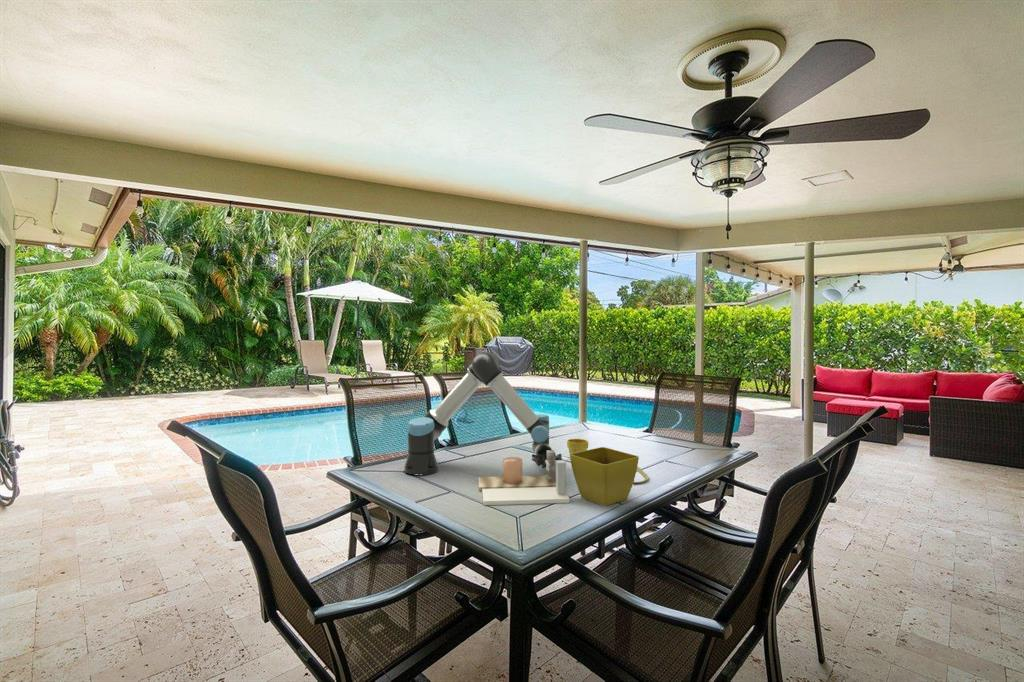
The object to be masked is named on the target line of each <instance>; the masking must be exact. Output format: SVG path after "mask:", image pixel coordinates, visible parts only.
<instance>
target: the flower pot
mask: <svg viewBox="0 0 1024 682" xmlns="http://www.w3.org/2000/svg"><path fill="white" fill-rule="evenodd" d="M569 457H570V459H569V460H570V464H571V468H572V469H571V470H572V473H573V474H572V475H573V476H574V480H575V482H576V483H575V484H576V486H577V490H578V493H579V494H580V496H581V498H582V497H583V498H582V499H585V498H586V499H585V500H587V499H588V500H587V501H590V502H592V501H593V503H595V502H596V504H597V503H598V505H600V504H601V505H600V506H602V505H604V507H606V505H607V506H610V505H614V504H617V503H620V502H623V501H626V500H627V499H628V498H629V495H630V492H631V490H632V487H633V485H634V484H633V482H635V478H636V474H637V471H636V470H637V466H638V465H639V460H640V459H639V458H640V457H639V455H636V454H631V453H628V452H626V451H625V452H624V451H621V450H617V449H614V448H613V449H612V448H609V447H605V446H601V447H595V448H591V449H587V450H585V451H581V452H576V453H572V454H569ZM619 501H620V502H619ZM616 502H617V503H616ZM613 503H614V504H613Z"/></svg>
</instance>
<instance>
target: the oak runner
mask: <svg viewBox="0 0 1024 682" xmlns="http://www.w3.org/2000/svg"><path fill="white" fill-rule="evenodd" d="M555 454H556V452H555V450H553V449H552V450H547V461H548V463H549V471H547V470H546V474H544V475H542V474H541V475H540V474H539V475H522V482H521V483H518V484H507V483H504V482H503V475H502V476H501V475H499V476H478V491H479V492H482V489H498V488H536V487H556V469H555Z"/></svg>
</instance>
